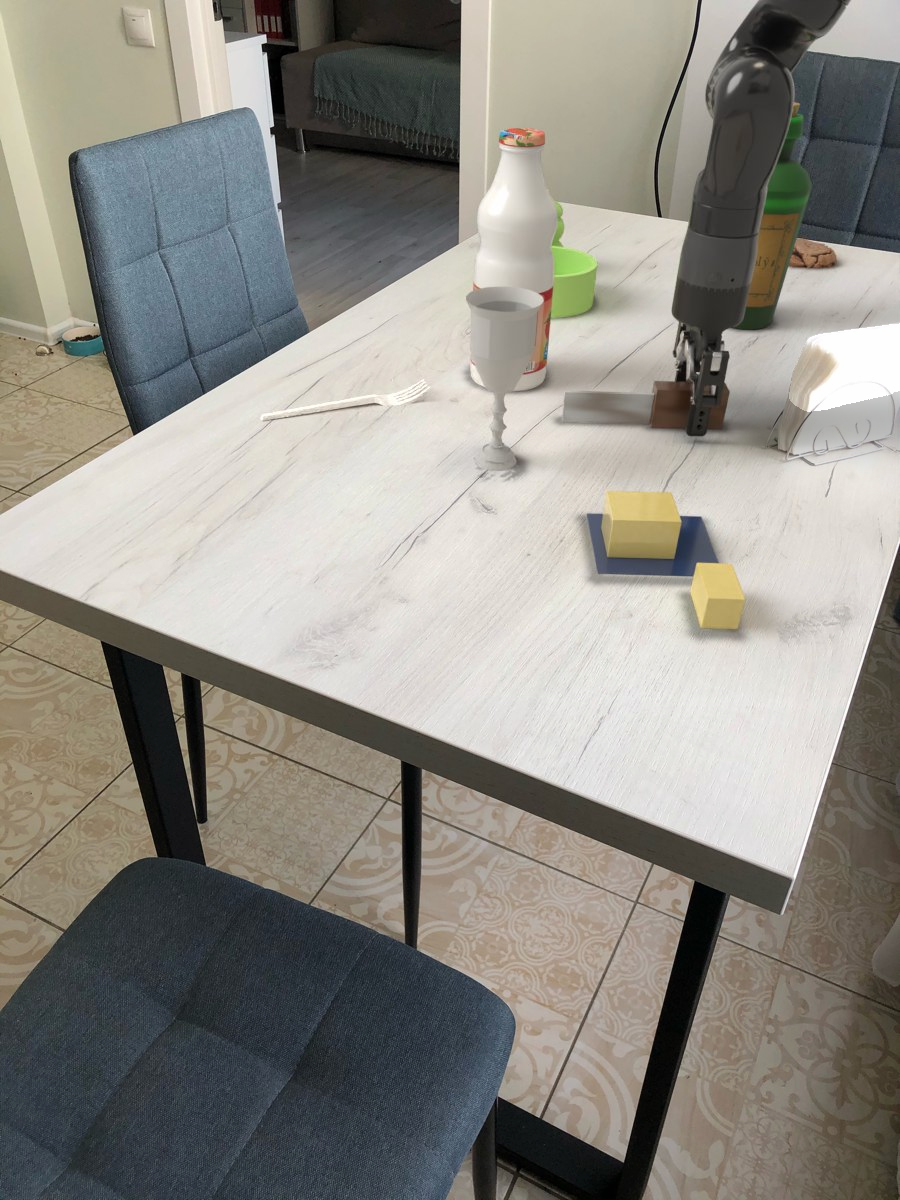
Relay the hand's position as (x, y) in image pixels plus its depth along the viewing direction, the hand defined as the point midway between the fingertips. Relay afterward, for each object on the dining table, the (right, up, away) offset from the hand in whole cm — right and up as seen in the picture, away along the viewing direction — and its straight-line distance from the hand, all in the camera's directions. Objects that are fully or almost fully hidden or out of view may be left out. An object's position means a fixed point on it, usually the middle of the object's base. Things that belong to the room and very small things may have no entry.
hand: (687, 417), depth 106 cm
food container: (-13, +26, +37) cm, 47 cm away
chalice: (-22, -7, -8) cm, 25 cm away
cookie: (+32, +36, +51) cm, 70 cm away
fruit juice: (-20, +7, +10) cm, 23 cm away
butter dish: (-9, -16, -20) cm, 27 cm away
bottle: (+15, +19, +28) cm, 37 cm away
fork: (-39, +1, +2) cm, 39 cm away
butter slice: (-5, -22, -28) cm, 36 cm away
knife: (-5, -1, +1) cm, 5 cm away
